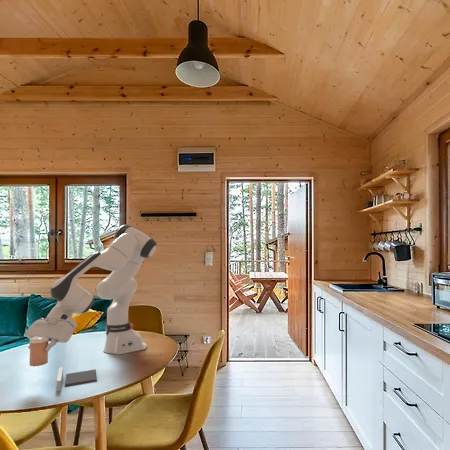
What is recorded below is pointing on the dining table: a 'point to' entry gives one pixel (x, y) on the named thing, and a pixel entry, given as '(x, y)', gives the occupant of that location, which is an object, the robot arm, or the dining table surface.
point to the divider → (59, 379)
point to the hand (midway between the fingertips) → (37, 349)
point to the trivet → (80, 377)
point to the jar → (38, 351)
